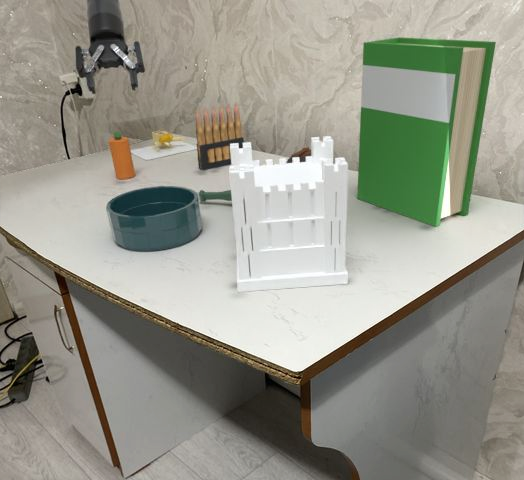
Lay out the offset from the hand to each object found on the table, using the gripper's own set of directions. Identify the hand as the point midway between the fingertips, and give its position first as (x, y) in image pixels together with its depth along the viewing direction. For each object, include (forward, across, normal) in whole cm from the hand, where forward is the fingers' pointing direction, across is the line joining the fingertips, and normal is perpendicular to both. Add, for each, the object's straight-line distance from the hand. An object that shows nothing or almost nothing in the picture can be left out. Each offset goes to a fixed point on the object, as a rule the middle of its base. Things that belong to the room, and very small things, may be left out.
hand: (113, 89), depth 115 cm
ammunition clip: (+18, +21, +4) cm, 28 cm away
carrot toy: (+19, 0, +3) cm, 19 cm away
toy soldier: (+35, +30, -13) cm, 48 cm away
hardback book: (+44, +49, -22) cm, 70 cm away
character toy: (+5, +8, +17) cm, 20 cm away
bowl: (+44, +7, -22) cm, 49 cm away
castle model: (+56, +25, -34) cm, 70 cm away
